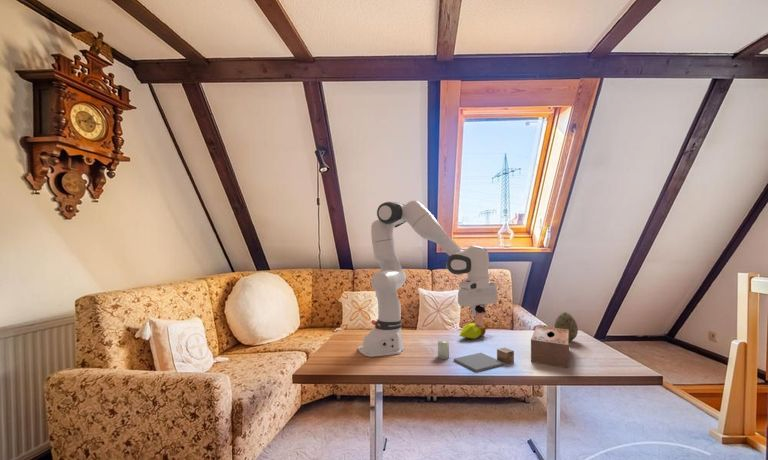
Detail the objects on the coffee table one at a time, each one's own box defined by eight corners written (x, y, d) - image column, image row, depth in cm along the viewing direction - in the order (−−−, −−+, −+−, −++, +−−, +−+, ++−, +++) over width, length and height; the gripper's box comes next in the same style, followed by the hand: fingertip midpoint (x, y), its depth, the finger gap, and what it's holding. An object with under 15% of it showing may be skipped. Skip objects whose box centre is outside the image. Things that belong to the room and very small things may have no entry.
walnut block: (505, 364, 149) (505, 352, 149) (497, 360, 153) (497, 349, 153) (513, 362, 151) (513, 350, 151) (504, 358, 156) (504, 347, 156)
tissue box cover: (536, 345, 174) (536, 325, 174) (568, 350, 167) (568, 329, 167) (530, 362, 151) (530, 339, 151) (568, 368, 144) (568, 345, 144)
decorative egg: (553, 337, 187) (552, 309, 187) (575, 339, 184) (575, 310, 184) (556, 343, 177) (556, 313, 177) (579, 345, 174) (579, 315, 174)
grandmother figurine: (488, 327, 150) (489, 298, 150) (485, 329, 146) (486, 299, 147) (471, 324, 154) (472, 295, 154) (468, 325, 151) (469, 296, 151)
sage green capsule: (442, 359, 154) (442, 344, 154) (435, 356, 158) (435, 340, 158) (451, 357, 156) (451, 342, 156) (444, 354, 161) (444, 339, 161)
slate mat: (476, 372, 140) (476, 369, 140) (453, 360, 152) (453, 358, 152) (504, 365, 148) (504, 362, 148) (480, 354, 160) (480, 352, 160)
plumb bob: (467, 345, 175) (498, 331, 189) (463, 327, 177) (494, 314, 191) (455, 344, 183) (486, 330, 197) (451, 327, 184) (482, 315, 198)
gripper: (490, 280, 158) (490, 310, 158) (455, 283, 148) (455, 315, 148) (501, 282, 152) (501, 313, 152) (465, 285, 143) (465, 319, 143)
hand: (478, 314), depth 150 cm, fingers closed on grandmother figurine, 3 cm apart
